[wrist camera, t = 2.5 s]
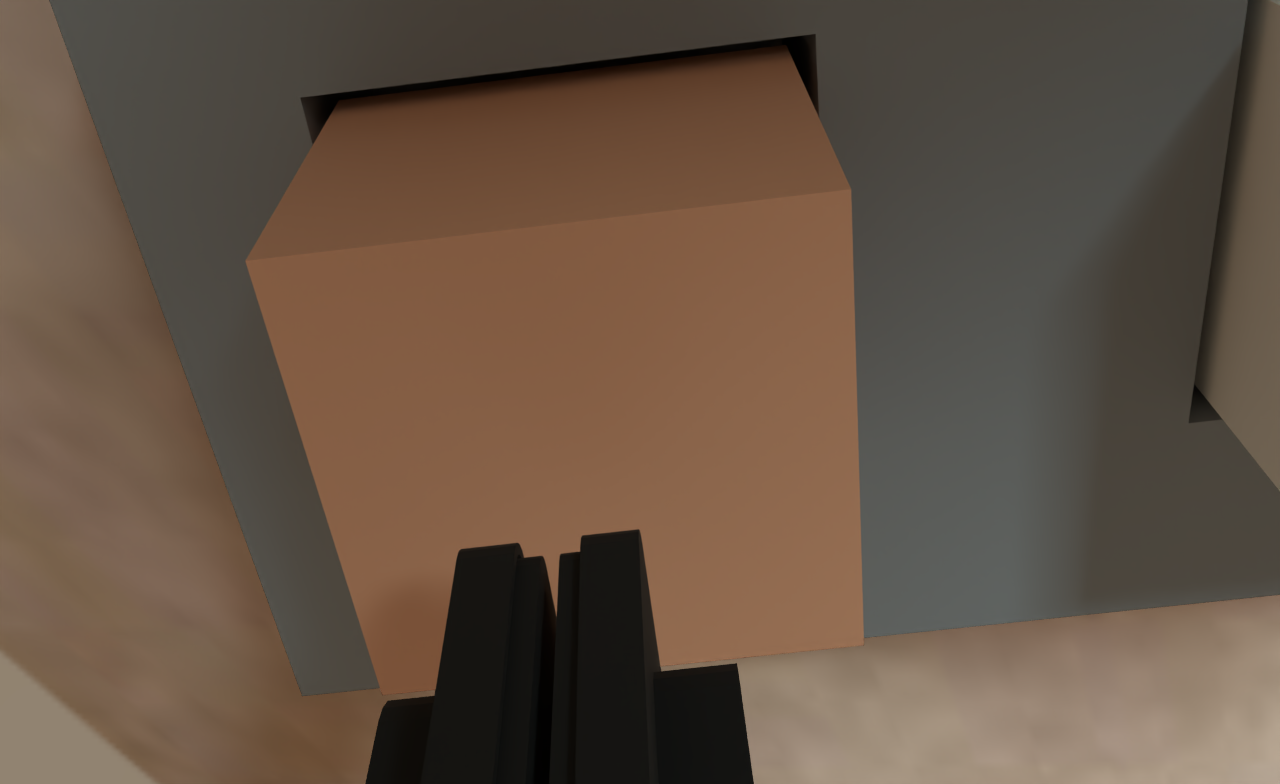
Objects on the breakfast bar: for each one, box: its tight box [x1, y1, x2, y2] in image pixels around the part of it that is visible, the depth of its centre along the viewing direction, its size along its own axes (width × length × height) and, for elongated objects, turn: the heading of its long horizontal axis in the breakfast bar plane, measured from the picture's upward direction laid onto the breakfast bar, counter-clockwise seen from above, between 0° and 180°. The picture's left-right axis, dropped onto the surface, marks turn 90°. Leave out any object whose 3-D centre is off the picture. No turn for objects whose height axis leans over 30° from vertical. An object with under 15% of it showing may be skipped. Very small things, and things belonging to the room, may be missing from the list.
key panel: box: [49, 0, 1280, 696], centre depth 19 cm, size 14×24×5 cm, turn 97°
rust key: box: [245, 45, 864, 695], centre depth 16 cm, size 6×6×5 cm
